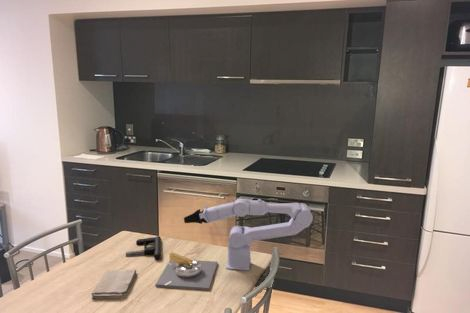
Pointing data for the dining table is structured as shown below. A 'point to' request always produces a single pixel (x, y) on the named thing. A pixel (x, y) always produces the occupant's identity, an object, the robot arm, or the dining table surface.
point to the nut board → (197, 283)
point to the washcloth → (114, 284)
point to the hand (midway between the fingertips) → (187, 220)
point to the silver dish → (185, 266)
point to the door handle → (148, 250)
